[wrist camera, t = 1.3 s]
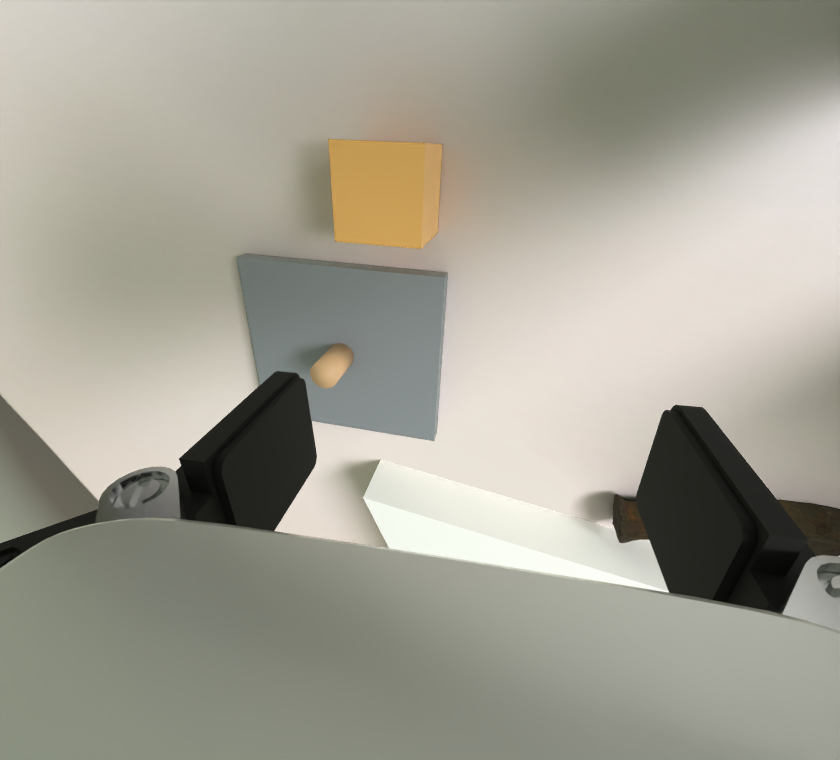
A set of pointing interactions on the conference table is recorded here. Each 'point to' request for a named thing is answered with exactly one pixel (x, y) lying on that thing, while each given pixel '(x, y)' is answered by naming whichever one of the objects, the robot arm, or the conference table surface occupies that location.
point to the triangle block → (501, 530)
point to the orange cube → (385, 192)
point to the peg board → (351, 338)
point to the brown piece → (818, 523)
